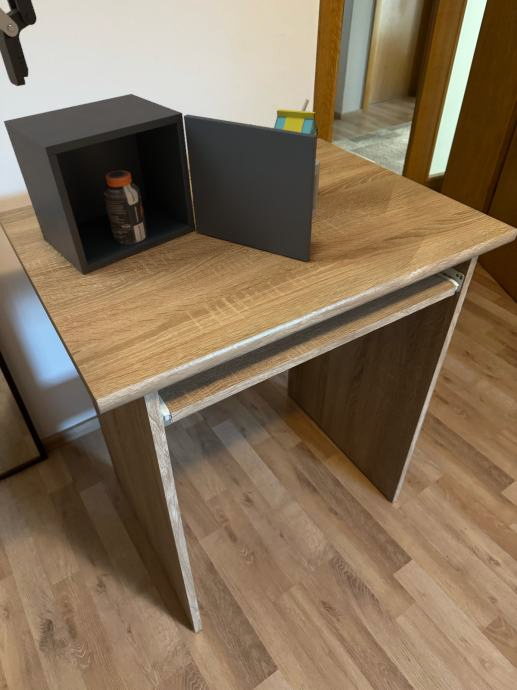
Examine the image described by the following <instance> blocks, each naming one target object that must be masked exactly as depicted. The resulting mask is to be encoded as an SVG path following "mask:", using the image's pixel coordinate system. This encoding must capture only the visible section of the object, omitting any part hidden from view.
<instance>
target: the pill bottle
mask: <svg viewBox="0 0 517 690" xmlns="http://www.w3.org/2000/svg"><path fill="white" fill-rule="evenodd" d="M106 181H107V184H108V186H107V187H106V188H105V189H104V199H105V203H106V208H107V212H108V216H109V220H110V225H111V229H112V233H113V237H114V239H115V240H116V241H117V242H119V243H122V244H133V243H137V242H140V241H142V240H143V239H145V238H146V236H147V228H146V222H145V217H144V212H143V206H142V201H141V195H140V190H139V188H138V186H137V185H136V184H134V183H132V179H131V174H130V172H128V171H124V170H118V171H113V172H110V173H108V174H107V175H106Z"/></svg>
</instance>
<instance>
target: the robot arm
mask: <svg viewBox="0 0 517 690" xmlns="http://www.w3.org/2000/svg"><path fill="white" fill-rule="evenodd" d="M6 2H7V4H8V7H9V11H8V12H5V11H4V10H3V9H2V7H0V55H1V58H2V61H3V65H4V68H5V72H6V75H7V77H8V81H9V82H10V83H11V84H12V85H14V86H16V87H21V86H26V80H25V78H29V67H28V64H27V60H26V56H25V53H24V50H23V46H22V43H21V40H20V39H21V38H20V34H21V32H22V31H23V30H24V29H26V28H27V27H29V26H34V25H36V22H37V14H36V11H35V8H34V5H33V1H32V0H6Z"/></svg>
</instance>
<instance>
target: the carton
mask: <svg viewBox="0 0 517 690" xmlns="http://www.w3.org/2000/svg"><path fill="white" fill-rule="evenodd" d="M309 102H310V100H309V99H307V98H305V99H304V102H303V104H302V107H301V109H300V110H294V109H293V110H292V109H281V108H280V109H279V108H278V109H277V110H276V119H275V123H274V127H273V128H276V129H282V130H288V131H295V132H301V133H307V134H314V135H317V136H318V131H319V130H318V128H319V127H318V125H317V121H316V120H315V117H316V116H315V115H316V112H315V111H307V110H306V109H307V107H308V105H309ZM317 146H318V145H317ZM317 146H316V150H318V149H317Z"/></svg>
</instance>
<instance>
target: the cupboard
mask: <svg viewBox="0 0 517 690" xmlns="http://www.w3.org/2000/svg"><path fill="white" fill-rule="evenodd" d="M3 125H4V127H5V130H6V132H7V135H8V138H9V142H10V143H11V147H12V150H13V152H14V156H15V159H16V162H17V165H18V167H19V170H20V173H21V176H22V180H23V182H24V184H25V188H26V191H27V194H28V197H29V199H30V203H31V205H32V209H33V211H34V215H35V217H36V220H37V223H38V225H39V229H40V232H41V234H42V238H43V240H44V241H45V242H46V243H47V244H48V245H49V246H50V247H52V248H53V249H54V250H55V251H56V252H58V254H60V255H61V256H62V257H63V258H64V259H65V260H66V261H67V262H68V263H70V264H71V266H73V267H74V268H75V269H76V270H77V271H78V272H79V273H81V275H87V274H89V273H91V272H94V271H96V270H98V269H102V268H104V267H107V266H109V265H112V264H114V263H116V262H119V261H122V260H124V259H127V258H129V257H132V256H134V255H137V254H139V253H141V252H144V251H147V250H149V249H152V248H154V247H157V246H159V245H162V244H165V243H167V242H169V241H172V240H174V239H177V238H179V237H182V236H185V235H186V234H189V233H192V232H196V223H195V214H194V205H193V196H192V187H191V178H190V169H189V160H188V151H187V142H186V133H185V124H184V115H183V112H180V111H177V110H176V109H172V108H169V107H167V106H164V105H162V104H159V103H157V102H154V101H151V100H149V99H146V98H143V97H141V96H138V95H135V94H133V93H129V94H123V95H119V96H115V97H110V98H106V99H100V100H96V101H92V102H86V103H82V104H77V105H72V106H69V107H63V108H59V109H54V110H49V111H44V112H40V113H35V114H31V115H26V116H22V117H17V118H12V119H11V118H10V119H6V120H3ZM118 170H124V171H128V172H130V174H131V179H132V183H134V184H136V185H137V186H138V188H139V190H140V195H141V201H142V206H143V212H144V217H145V222H146V228H147V236H146V238H145V239H143V240H142V241H140V242H137V243H133V244H122V243H119V242H117V241H116V240H115V239H114V237H113V233H112V229H111V225H110V220H109V216H108V212H107V208H106V203H105V199H104V189H105V188H106V187H107V186H108V184H107V181H106V175H107V174H108V173H110V172H113V171H118Z"/></svg>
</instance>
